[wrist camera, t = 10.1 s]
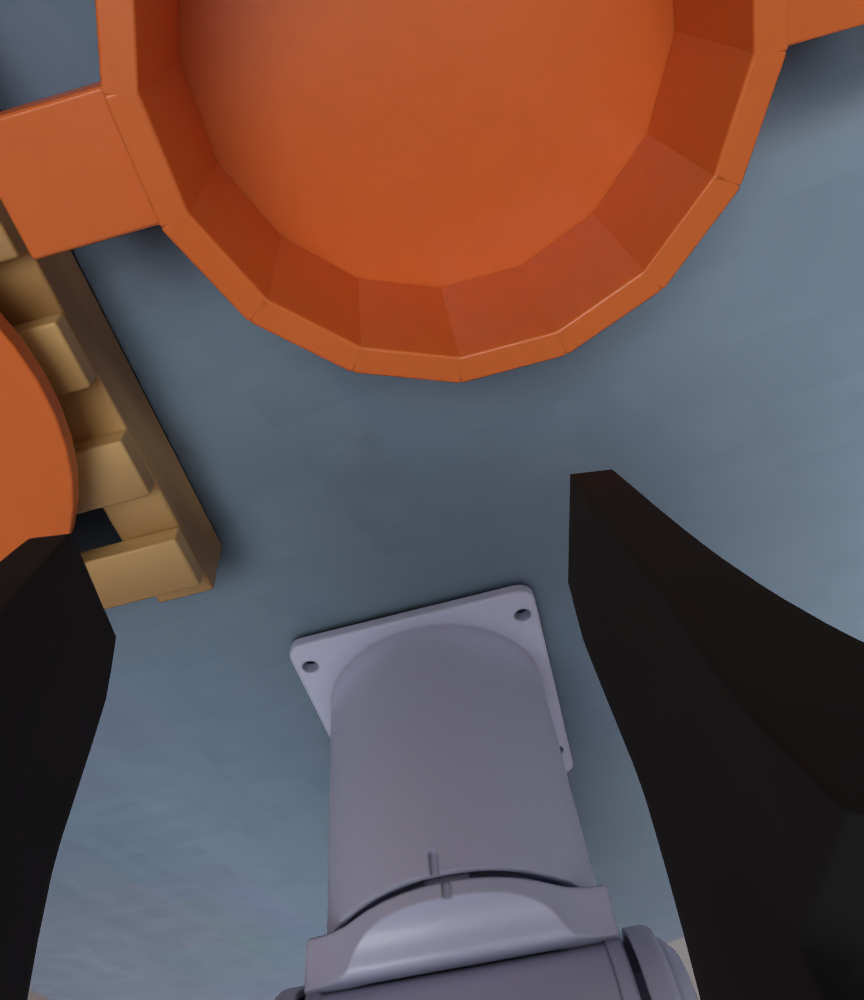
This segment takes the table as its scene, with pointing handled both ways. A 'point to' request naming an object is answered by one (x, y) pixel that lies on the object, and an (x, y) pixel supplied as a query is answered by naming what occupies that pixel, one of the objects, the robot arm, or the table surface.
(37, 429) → the lid
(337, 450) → the table surface
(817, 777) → the robot arm
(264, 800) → the table surface
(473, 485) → the table surface
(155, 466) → the rack
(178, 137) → the pot
